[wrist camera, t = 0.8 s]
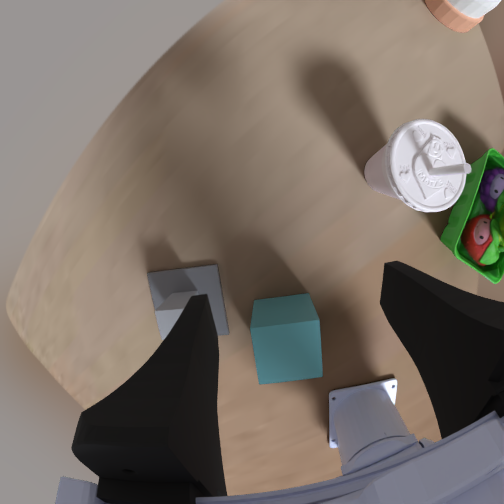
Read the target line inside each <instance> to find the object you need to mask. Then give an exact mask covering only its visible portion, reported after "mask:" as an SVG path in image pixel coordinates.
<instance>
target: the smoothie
mask: <svg viewBox="0 0 504 504" xmlns="http://www.w3.org/2000/svg"><path fill="white" fill-rule="evenodd" d="M470 172H471V166H470V165H469V164H468V163H466V162H465V157H464V154H463V151H462V148H461V146H460V144H459V142H458V141H457V139H456V138H455V136H454V135H453V134H452V133H451V132H450V131H449V130H448V129H447V128H446V127H444V126H443V125H441V124H440V123H438V122H436V121H433V120H429V119H417V120H413V121H410V122H407V123H404V124H402V125H401V126H400V127H398V128H397V129H396V130H395V131H394V133H393V134H392V135H391V137H390V138H389V141H388V143H387V144H386V145H385V146H383V147H382V148H381V149H380V150H379V151H378V152H377V153H376V154H374V155H373V156H372V157H371V158H370V159H369V160H368V161H367V163H366V165H365V170H364V174H365V179H366V181H367V183H368V185H369V186H370V187H371V188H372V189H373V190H375V191H377V192H379V193H382V194H385V195H388V196H391V197H394V198H397V199H400V200H402V201H403V202H404V203H405V204H406V205H407V206H409V207H411V208H413V209H415V210H417V211H423V212H439V211H443V210H445V209H447V208H449V207H451V206H452V205H453V204H454V203H455V202H456V201H457V200H458V198H459V197H460V195H461V193H462V191H463V189H464V185H465V181H466V174H468V173H470Z"/></svg>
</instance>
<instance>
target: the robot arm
mask: <svg viewBox="0 0 504 504" xmlns="http://www.w3.org/2000/svg"><path fill="white" fill-rule="evenodd" d="M380 305H381V307H382V309H383V311H384V314H385V316H386V318H387V320H388V322H389V323H390V325H391V327H392V328H393V330H394V331H395V333H396V334H397V336H398V337H399V339H400V341H401V342H402V344H403V345H404V347H405V348H406V350H407V351H408V353H409V355H410V356H411V358H412V359H413V361H414V363H415V365H416V366H417V368H418V371H419V373H420V375H421V377H422V380H423V382H424V384H425V387H426V389H427V392H428V394H429V397H430V399H431V402H432V405H433V408H434V411H435V415H436V418H437V421H438V425H439V429H440V433H441V437H442V440H440V441H437V442H435V443H434V442H433V441H432V440H429V439H426V438H423V439H421V440H419V443H418V441H417V439H416V437H415V435H414V434H411V435H410V433H409V431H408V429H407V427H406V425H405V423H404V421H403V420H402V418H401V416H400V414H399V412H398V410H397V409H396V407H395V398H396V389H397V380H396V379H395V378H391V379H387V380H383V381H378V382H374V383H369V384H364V385H360V386H354V387H349V388H344V389H338V390H333V391H331V392H330V393H329V446H330V447H331V448H336V447H338V449H339V453H340V458H341V462H342V466H341V470H342V474H343V476H339V477H336V478H335V479H331V480H327V481H323V482H318V483H314V484H309V485H305V486H300V487H294V488H289V489H283V490H277V491H270V492H263V493H255V494H245V495H234V496H227V491H226V485H225V479H224V472H223V464H222V456H221V447H220V438H219V427H218V415H217V393H218V370H219V347H218V335H217V330H216V326H215V322H214V319H213V315H212V311H211V307H210V303H209V299H208V295H207V294H201V295H194V296H191V298H190V299H189V301H188V302H187V304H186V306H185V308H184V309H183V311H182V313H181V315H180V316H179V318H178V320H177V321H176V323H175V324H174V326H173V327H172V329H171V331H170V332H169V334H168V335H167V336H166V338H165V339H164V341H163V342H162V343H161V345H160V346H159V347H158V349H157V350H156V351H155V352H154V354H153V355H152V356H151V357H150V358H149V360H148V361H147V362H146V363H145V364H144V365H143V366H142V367H141V368H140V369H139V370H138V371H137V372H136V373H135V374H134V375H132V376H131V377H130V378H129V379H128V380H127V381H126V382H125V383H124V384H122V385H121V386H120V387H119V388H118V389H116V390H115V391H114V392H112V393H111V394H110V395H108V396H107V397H105V398H104V399H103V400H101V401H99V402H98V403H96V404H95V405H93V406H91V407H90V408H88V409H87V410H85V411H83V412H82V413H81V416H80V418H79V421H78V425H77V428H76V432H75V436H74V440H73V444H72V451H73V453H74V455H75V456H76V457H77V458H78V459H79V461H80V462H82V463H83V464H84V465H85V466H87V467H88V468H89V469H90V470H91V471H93V472H94V473H95V474H96V475H98V476H99V483H98V485H97V484H95V483H92V482H88V481H84V480H78V479H73V478H68V477H61V478H60V482H59V487H58V492H57V497H56V503H55V504H504V302H499V301H495V300H491V299H488V298H484V297H481V296H477V295H475V294H472V293H469V292H466V291H463V290H461V289H458V288H456V287H454V286H451V285H449V284H447V283H444V282H442V281H440V280H438V279H436V278H434V277H432V276H430V275H428V274H426V273H424V272H421V271H419V270H417V269H415V268H413V267H411V266H409V265H407V264H404V263H402V262H399V261H393V262H388V263H384V273H383V282H382V290H381V298H380ZM392 385H394V386H392ZM391 386H392V387H391ZM333 397H335V398H334V399H332V398H333ZM333 439H334V440H333Z"/></svg>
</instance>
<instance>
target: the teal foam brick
mask: <svg viewBox="0 0 504 504" xmlns="http://www.w3.org/2000/svg"><path fill="white" fill-rule="evenodd" d="M250 330H251V337H252V343H253V349H254V356H255V362H256V368H257V374H258V380H259V384H269V383H279V382H287V381H296V380H303V379H310V378H317V377H323V371H322V352H321V336H320V321H319V317H318V315H317V312H316V310H315V307H314V305H313V302H312V300H311V298H310V295H309V293H306V294H298V295H291V296H283V297H275V298H267V299H259V300H254V305H253V312H252V319H251V326H250Z"/></svg>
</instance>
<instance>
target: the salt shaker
mask: <svg viewBox="0 0 504 504" xmlns="http://www.w3.org/2000/svg"><path fill="white" fill-rule="evenodd" d="M500 1H501V0H425V3H426V5H427V7H428V8H429V10H430V11H431V13H432V14H433V15H434V16H435V17H436V18H437V19H438V20H439V21H440V22H441V23H443V24H444V25H445V26H447V27H448V28H450V29H452V30H454V31H458V32H467V31H469V30H470V29H471V28H473V27H474V26H475V25H477V24H478V23H479V22H481V21H482V20H483V17H484V14H486V13H487V12H489V11H490V10H492V9H493V8H494V7H496V6H497V5H498V4H499V2H500Z"/></svg>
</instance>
